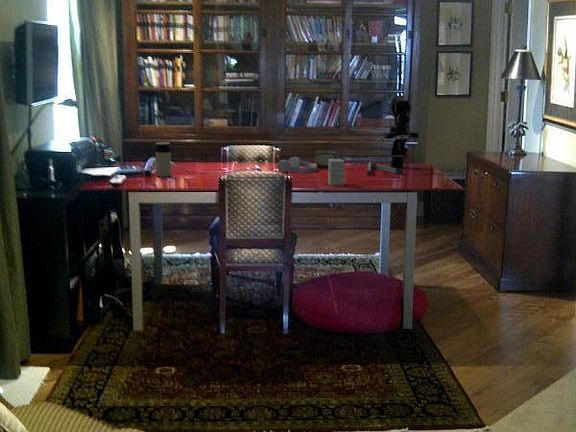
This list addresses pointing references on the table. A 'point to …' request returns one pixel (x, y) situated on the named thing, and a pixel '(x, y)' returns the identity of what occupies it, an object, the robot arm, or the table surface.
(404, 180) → the table surface
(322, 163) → the food container
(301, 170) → the headphones
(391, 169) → the tongs arm
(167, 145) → the travel mug
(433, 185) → the table surface
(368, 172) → the tongs base
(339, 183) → the supplement box
